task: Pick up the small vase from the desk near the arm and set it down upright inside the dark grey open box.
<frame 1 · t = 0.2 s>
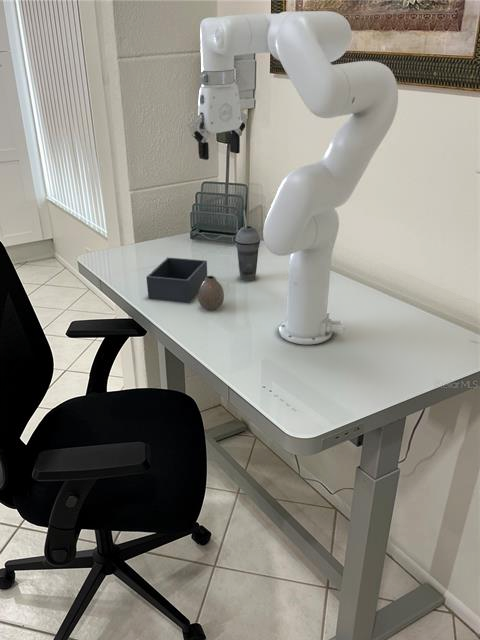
hand: (219, 155, 147), 37 cm above the table, tool pointing down, fingers open, 9 cm apart
vase: (211, 308, 158), on the table
beverage cup: (247, 279, 174), on the table
dark grey open box: (178, 290, 170), on the table
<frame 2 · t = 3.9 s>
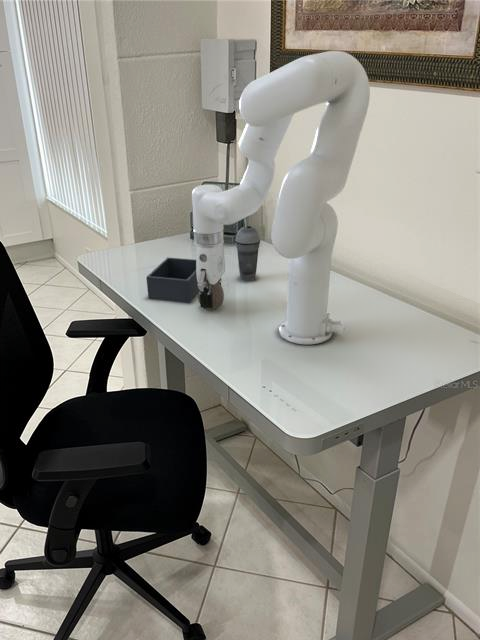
hand: (211, 301, 157), 2 cm above the table, tool pointing down, fingers closed on vase, 7 cm apart
vase: (211, 308, 158), on the table, touching gripper
everything else where it was.
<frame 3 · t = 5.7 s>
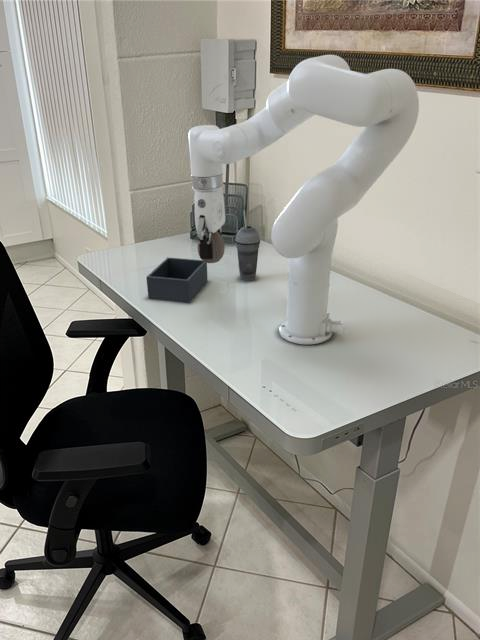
hand: (211, 253, 150), 15 cm above the table, tool pointing down, fingers closed on vase, 7 cm apart
vase: (211, 261, 151), point 13 cm above the table, touching gripper
everything else where it was.
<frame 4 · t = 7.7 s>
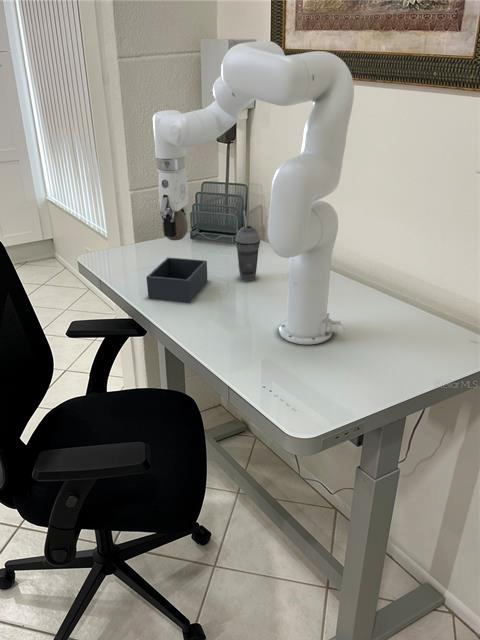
hand: (175, 231, 160), 17 cm above the table, tool pointing down, fingers closed on vase, 7 cm apart
vase: (175, 238, 161), point 15 cm above the table, touching gripper
everything else where it was.
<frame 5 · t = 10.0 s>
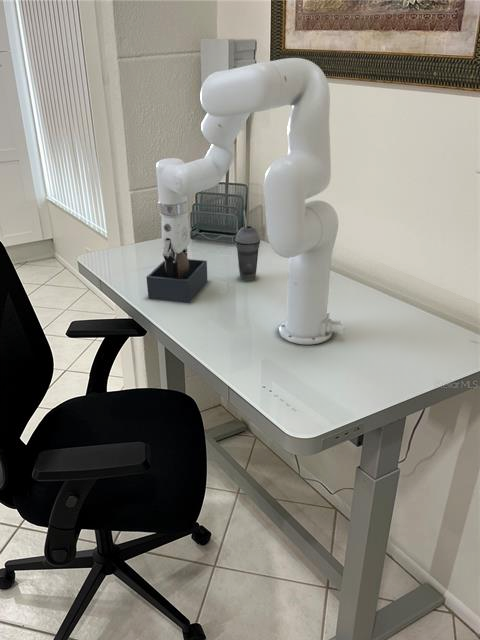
hand: (177, 270, 166), 6 cm above the table, tool pointing down, fingers closed on vase, 7 cm apart
vase: (177, 277, 168), point 4 cm above the table, touching gripper
everything else where it was.
when the fingers open (3 cm above the table, at t = 11.6 s): vase stays where it is, resting on dark grey open box.
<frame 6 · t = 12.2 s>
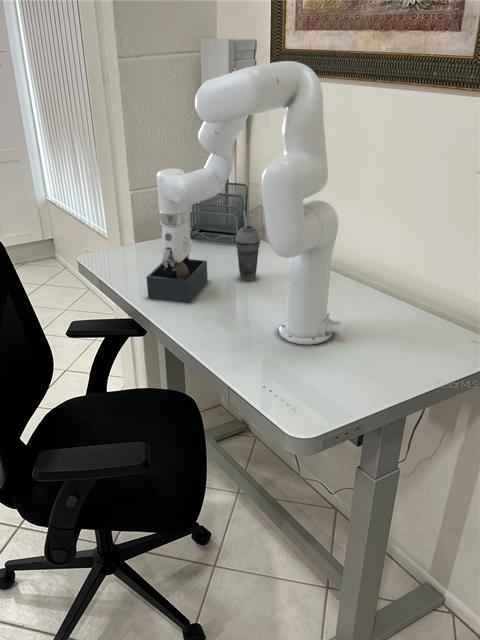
hand: (178, 277, 167), 4 cm above the table, tool pointing down, fingers open, 9 cm apart
vase: (178, 288, 169), resting on dark grey open box
everything else where it was.
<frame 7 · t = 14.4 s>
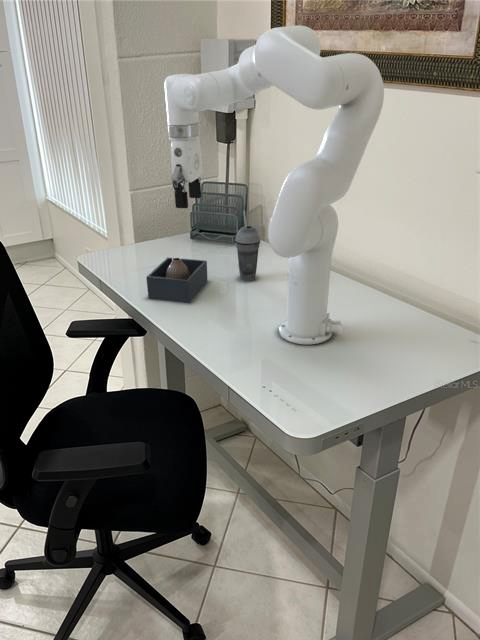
hand: (188, 202, 152), 26 cm above the table, tool pointing down, fingers open, 9 cm apart
nothing on the table moved.
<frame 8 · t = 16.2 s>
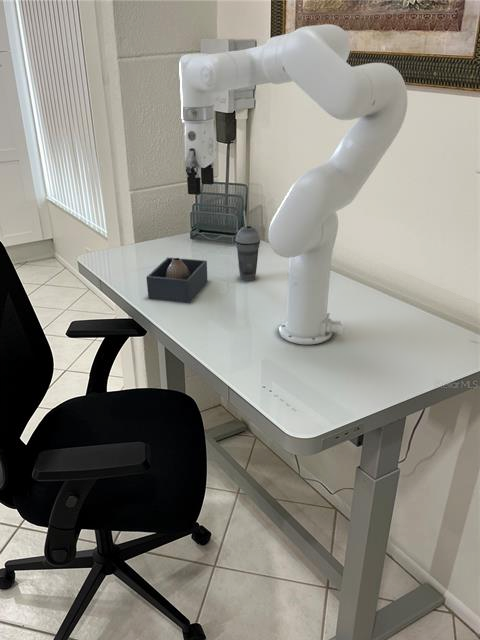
hand: (201, 189, 146), 30 cm above the table, tool pointing down, fingers open, 9 cm apart
nothing on the table moved.
at the end: vase inside the target area in the dark grey open box (0.0 cm from its centre), point 0.4 cm above the dark grey open box's base; vase tilted 0°; the gripper is holding nothing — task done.
